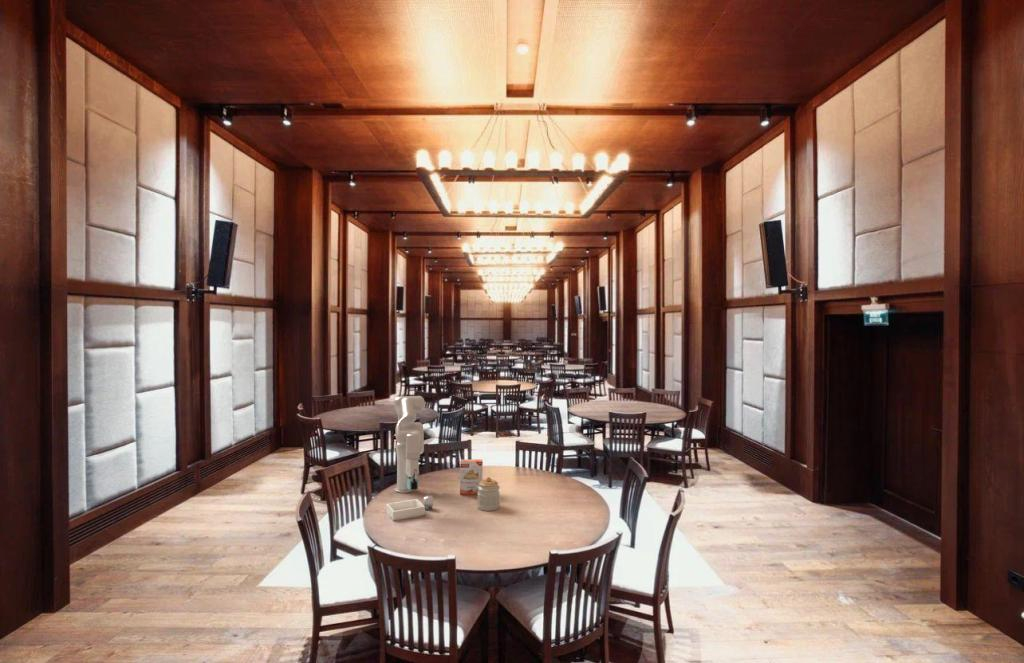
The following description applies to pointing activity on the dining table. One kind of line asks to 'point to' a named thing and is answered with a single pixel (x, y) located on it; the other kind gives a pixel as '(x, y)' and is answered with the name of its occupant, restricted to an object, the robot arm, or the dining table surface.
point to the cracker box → (470, 476)
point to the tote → (405, 509)
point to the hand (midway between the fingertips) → (412, 487)
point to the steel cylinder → (428, 502)
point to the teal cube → (410, 483)
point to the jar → (488, 495)
